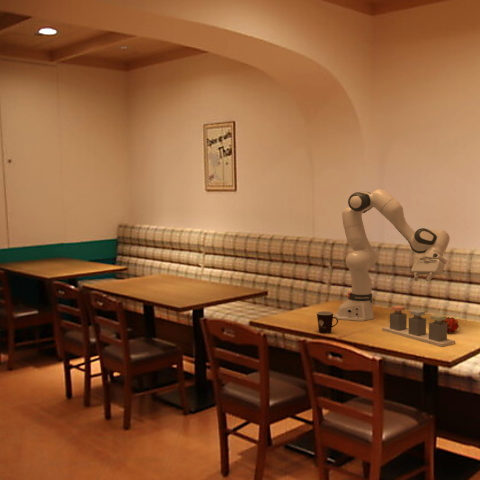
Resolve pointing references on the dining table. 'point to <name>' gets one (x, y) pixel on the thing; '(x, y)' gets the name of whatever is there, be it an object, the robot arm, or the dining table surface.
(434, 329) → the button console
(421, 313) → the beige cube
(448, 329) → the dragon fruit
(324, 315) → the coffee mug
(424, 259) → the robot arm
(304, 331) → the dining table surface
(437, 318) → the sage button
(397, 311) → the terracotta button
